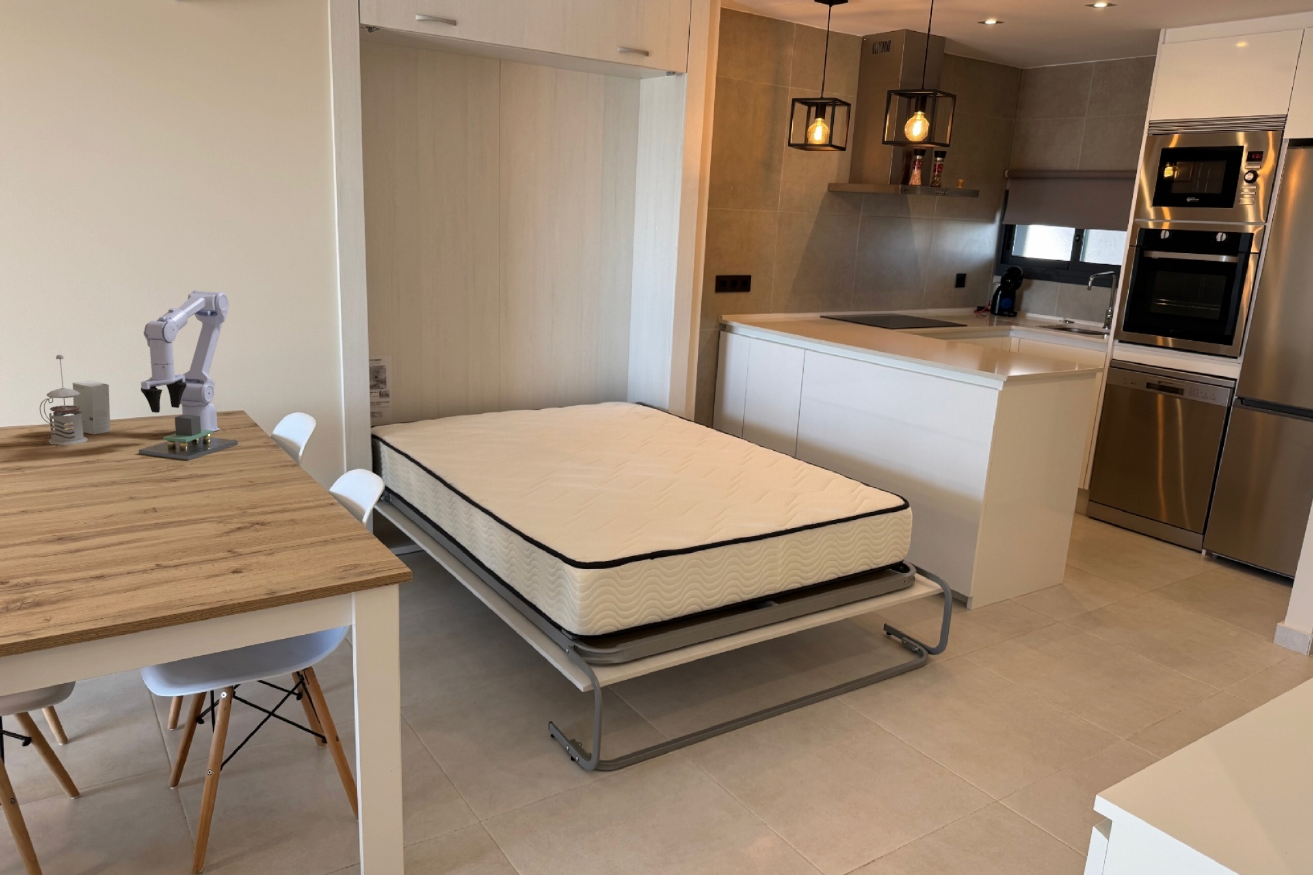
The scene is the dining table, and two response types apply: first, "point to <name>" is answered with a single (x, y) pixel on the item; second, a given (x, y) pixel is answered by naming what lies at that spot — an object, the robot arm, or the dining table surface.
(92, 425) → the skincare box
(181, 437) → the board
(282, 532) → the dining table surface
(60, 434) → the french press
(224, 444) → the plate
